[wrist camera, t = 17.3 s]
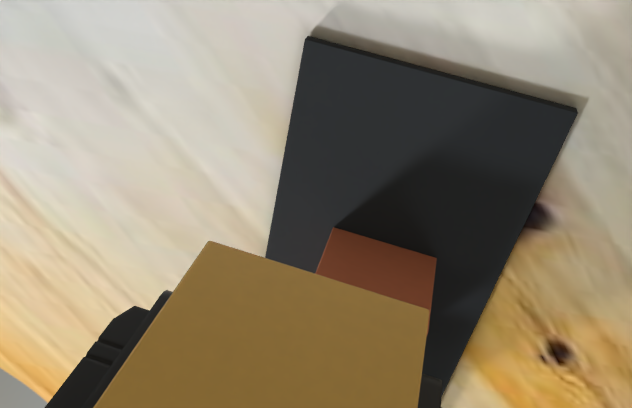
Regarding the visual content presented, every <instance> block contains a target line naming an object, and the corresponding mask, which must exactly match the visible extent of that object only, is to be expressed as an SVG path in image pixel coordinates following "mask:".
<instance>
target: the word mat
mask: <svg viewBox="0 0 632 408" xmlns="http://www.w3.org/2000/svg"><path fill="white" fill-rule="evenodd" d="M577 114H578V112H577V109H576V108H573V107H569V106H565V105H562V104H558V103H554V102H551V101H547V100H543V99H539V98H536V97H532V96H528V95H525V94H521V93H517V92H514V91H510V90H506V89H502V88H499V87H495V86H491V85H488V84H484V83H480V82H477V81H473V80H469V79H465V78H462V77H458V76H454V75H451V74H447V73H443V72H439V71H436V70H432V69H428V68H425V67H421V66H417V65H414V64H410V63H406V62H402V61H399V60H395V59H391V58H388V57H384V56H380V55H376V54H373V53H369V52H365V51H362V50H358V49H354V48H351V47H347V46H343V45H339V44H336V43H332V42H328V41H325V40H321V39H317V38H314V37H310V36H307V38H306V39H305V42H304V48H303V53H302V59H301V64H300V70H299V75H298V81H297V86H296V92H295V97H294V103H293V108H292V114H291V119H290V125H289V130H288V136H287V141H286V147H285V152H284V158H283V163H282V169H281V174H280V180H279V185H278V191H277V196H276V202H275V207H274V213H273V218H272V224H271V229H270V235H269V240H268V246H267V251H266V257H265V258H267V259H270V260H273V261H276V262H279V263H283V264H286V265H289V266H292V267H295V268H299V269H302V270H305V271H308V272H311V273H314V274H315V273H316V271H317V268H318V265H319V263H320V260H321V258H322V255H323V252H324V250H325V247H326V245H327V242H328V239H329V237H330V234H331V232H332V229H333V227H335V228H338V229H341V230H345V231H348V232H351V233H355V234H358V235H361V236H365V237H368V238H371V239H375V240H378V241H381V242H385V243H388V244H391V245H395V246H398V247H401V248H405V249H408V250H411V251H415V252H418V253H421V254H425V255H428V256H431V257H435V258H437V261H436V269H435V278H434V287H433V295H432V304H431V313H430V321H429V330H428V334H427V337H426V344H425V352H424V360H423V368H422V374H425V375H428V376H431V377H434V378H437V379H440V380H442V395H443V393H444V391H445V389H446V386H447V384H448V382H449V380H450V378H451V376H452V374H453V372H454V370H455V368H456V366H457V364H458V361H459V359H460V357H461V355H462V353H463V351H464V349H465V347H466V345H467V343H468V341H469V339H470V336H471V334H472V332H473V330H474V328H475V326H476V324H477V322H478V320H479V318H480V316H481V314H482V312H483V309H484V307H485V305H486V303H487V301H488V299H489V297H490V295H491V293H492V291H493V289H494V287H495V284H496V282H497V280H498V278H499V276H500V274H501V272H502V270H503V268H504V266H505V264H506V262H507V259H508V257H509V255H510V253H511V251H512V249H513V247H514V245H515V243H516V241H517V239H518V237H519V234H520V232H521V230H522V228H523V226H524V224H525V222H526V220H527V218H528V216H529V214H530V212H531V210H532V207H533V205H534V203H535V201H536V199H537V197H538V195H539V193H540V191H541V189H542V187H543V185H544V182H545V180H546V178H547V176H548V174H549V172H550V170H551V168H552V166H553V164H554V162H555V160H556V157H557V155H558V153H559V151H560V149H561V147H562V145H563V143H564V141H565V139H566V137H567V135H568V132H569V130H570V128H571V126H572V124H573V122H574V120H575V118H576V116H577ZM442 395H441V397H442Z"/></svg>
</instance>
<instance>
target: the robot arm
mask: <svg viewBox="0 0 632 408" xmlns="http://www.w3.org/2000/svg"><path fill="white" fill-rule="evenodd" d="M172 293H173V292H171V291H168V290H166V291H164V292H163V293H162V294H161V296H160V297H159V298H158V300H157V301H156V303H155V304H154V305H153V307H152V308H151V310H150V311H149V310H146V309H143V308H140V307H137V306H133V307H132V308H130V309H129V310H127V311H125V312H124V313H122V314H121V315H119V316H117V317H116V318H114V319H113V320H112V321H111V322H110V324H109V325H108V326H107V328H106V329H105V330H104V332H103V333H102V334H101V335H100V337H99V339H98V341H97V342H95V343H94V344H93V346H92V347H91V348H90V350H89V351H88V352H87V355H86V357H83V359H82V360H81V361H80V363H79V364H78V365H77V367H76V368H75V369H74V370H73V372H72V373H71V374H70V376H69V377H68V378H67V379H66V381H65V382H64V383H63V385H62V386H61V387H60V389H59V390H58V391H57V392H56V394H55V395H54V396H53V398H52V399H51V400H50V401H49V403H48V404H47V405H46V407H45V408H93V407H94V406H95V404H96V403H97V402H98V400H99V399H100V397H101V396H102V394H103V393H104V391H105V390H106V389H107V387H108V386H109V384H110V383H111V381H112V380H113V378H114V377H115V375H116V374H117V373H118V371H119V370H120V368H121V367H122V365H123V364H124V362H125V361H126V360H127V358H128V357H129V355H130V354H131V352H132V351H133V349H134V348H135V346H136V345H137V344H138V342H139V341H140V339H141V338H142V336H143V335H144V333H145V332H146V331H147V329H148V328H149V326H150V325H151V323H152V322H153V320H154V319H155V317H156V316H157V315H158V313H159V312H160V310H161V309H162V307H163V306H164V304H165V303H166V302H167V300H168V299H169V297H170V296H171V294H172ZM441 395H442V380H440V379H437V378H434V377H431V376H428V375H425V374H422V376H421V384H420V392H419V400H418V408H441V407H440V406H441Z"/></svg>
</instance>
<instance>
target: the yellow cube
mask: <svg viewBox="0 0 632 408" xmlns="http://www.w3.org/2000/svg"><path fill="white" fill-rule="evenodd" d="M428 320H429V310H428V309H426V308H423V307H419V306H416V305H413V304H410V303H407V302H404V301H400V300H397V299H394V298H391V297H388V296H384V295H381V294H378V293H375V292H372V291H369V290H365V289H362V288H359V287H356V286H353V285H349V284H346V283H343V282H340V281H337V280H334V279H330V278H327V277H324V276H321V275H318V274H314V273H311V272H308V271H305V270H302V269H299V268H295V267H292V266H289V265H286V264H283V263H279V262H276V261H273V260H270V259H267V258H264V257H260V256H257V255H254V254H251V253H248V252H244V251H241V250H238V249H235V248H232V247H229V246H225V245H222V244H219V243H216V242H213V241H208V242H207V244H206V245H205V246H204V248H203V249H202V251H201V252H200V254H199V255H198V257H197V258H196V259H195V261H194V262H193V264H192V265H191V267H190V268H189V270H188V271H187V273H186V274H185V275H184V277H183V278H182V280H181V281H180V283H179V284H178V286H177V287H176V288H175V290H174V291H173V293H172V294H171V296H170V297H169V299H168V300H167V302H166V303H165V304H164V306H163V307H162V309H161V310H160V312H159V313H158V315H157V316H156V317H155V319H154V320H153V322H152V323H151V325H150V326H149V328H148V329H147V331H146V332H145V333H144V335H143V336H142V338H141V339H140V341H139V342H138V344H137V345H136V346H135V348H134V349H133V351H132V352H131V354H130V355H129V357H128V358H127V360H126V361H125V362H124V364H123V365H122V367H121V368H120V370H119V371H118V373H117V374H116V375H115V377H114V378H113V380H112V381H111V383H110V384H109V386H108V387H107V389H106V390H105V391H104V393H103V394H102V396H101V397H100V399H99V400H98V402H97V403H96V404H95V406H94V407H93V408H418V400H419V392H420V384H421V376H422V368H423V360H424V352H425V344H426V336H427V328H428Z"/></svg>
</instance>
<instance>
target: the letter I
mask: <svg viewBox="0 0 632 408" xmlns="http://www.w3.org/2000/svg"><path fill="white" fill-rule="evenodd" d="M436 261H437V258H435V257H431V256H428V255H425V254H421V253H418V252H415V251H411V250H408V249H405V248H401V247H398V246H395V245H391V244H388V243H385V242H381V241H378V240H375V239H371V238H368V237H365V236H361V235H358V234H355V233H351V232H348V231H345V230H341V229H338V228H335V227H333V229H332V232H331V234H330V237H329V239H328V242H327V245H326V247H325V250H324V252H323V255H322V258H321V260H320V263H319V265H318V268H317V271H316V273H315V274H318V275H321V276H324V277H327V278H330V279H334V280H337V281H340V282H343V283H346V284H349V285H353V286H356V287H359V288H362V289H365V290H369V291H372V292H375V293H378V294H381V295H384V296H388V297H391V298H394V299H397V300H400V301H404V302H407V303H410V304H413V305H416V306H419V307H423V308H426V309H428V310H429V320H428V328H427V334H428V330H429V321H430V313H431V304H432V295H433V287H434V278H435V269H436ZM426 337H427V336H426Z"/></svg>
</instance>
